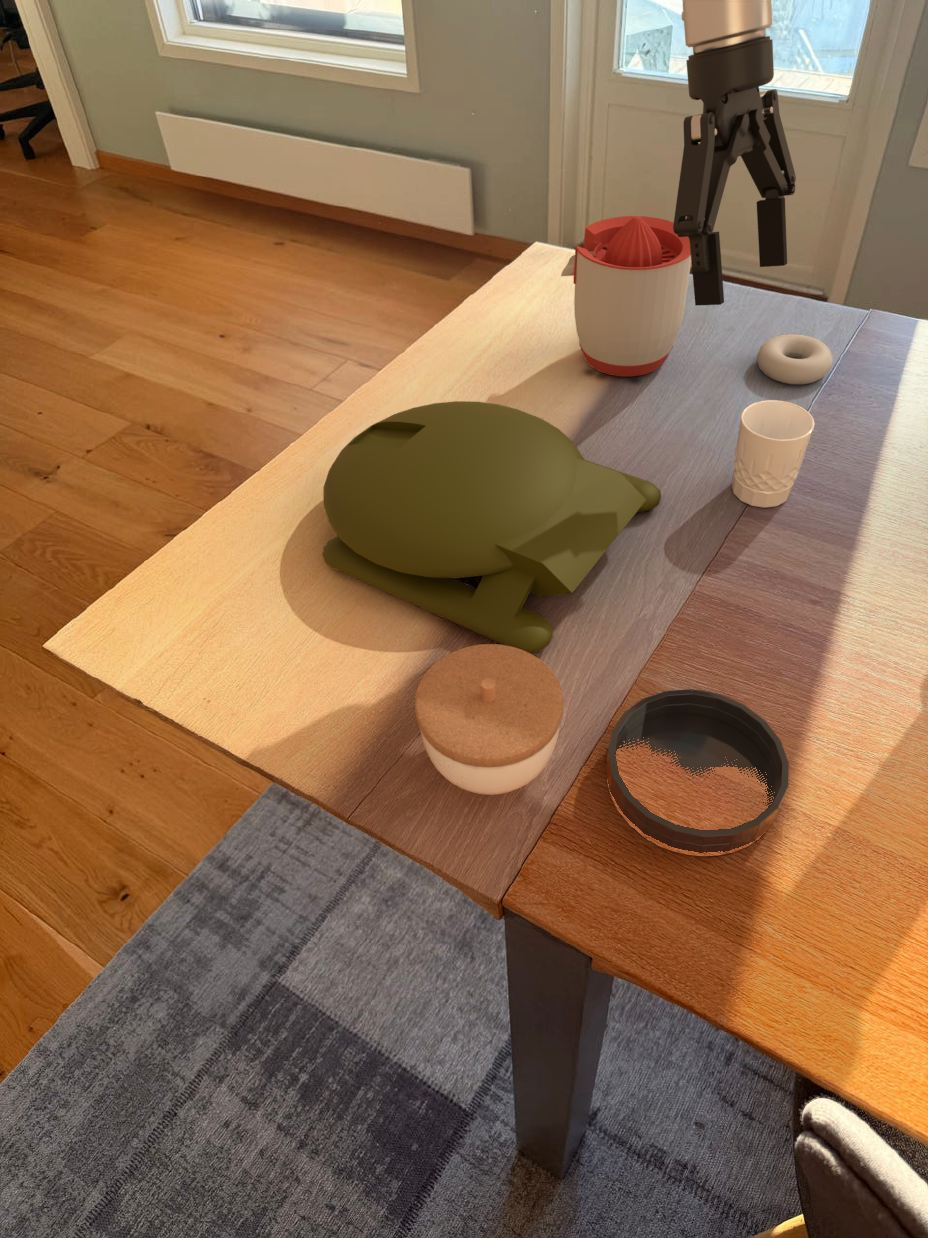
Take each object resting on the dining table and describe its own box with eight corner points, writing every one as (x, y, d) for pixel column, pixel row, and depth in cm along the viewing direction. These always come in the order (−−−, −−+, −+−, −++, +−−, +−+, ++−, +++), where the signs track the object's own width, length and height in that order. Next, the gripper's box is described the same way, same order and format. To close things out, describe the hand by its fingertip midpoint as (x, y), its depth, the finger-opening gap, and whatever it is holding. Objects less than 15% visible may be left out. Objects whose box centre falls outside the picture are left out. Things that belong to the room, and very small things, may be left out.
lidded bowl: (522, 842, 77) (522, 768, 69) (397, 784, 82) (383, 709, 74) (582, 735, 85) (588, 658, 77) (464, 688, 89) (459, 610, 81)
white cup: (761, 520, 105) (779, 449, 97) (712, 486, 109) (726, 415, 102) (809, 494, 107) (829, 423, 100) (759, 462, 112) (776, 392, 105)
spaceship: (667, 499, 108) (678, 429, 101) (536, 667, 91) (538, 598, 84) (427, 415, 122) (422, 350, 115) (275, 547, 105) (258, 480, 98)
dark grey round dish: (783, 729, 84) (791, 705, 82) (777, 875, 74) (786, 853, 72) (619, 700, 87) (622, 676, 85) (593, 836, 77) (595, 814, 75)
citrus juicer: (571, 323, 138) (577, 186, 123) (687, 336, 133) (707, 197, 119) (546, 377, 127) (549, 235, 113) (670, 393, 123) (689, 248, 109)
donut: (744, 378, 125) (817, 396, 121) (748, 356, 123) (823, 373, 119) (768, 345, 131) (838, 361, 127) (772, 323, 128) (844, 338, 124)
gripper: (754, 33, 91) (764, 253, 102) (616, 71, 77) (645, 322, 87) (828, 15, 86) (831, 248, 97) (695, 53, 72) (715, 321, 83)
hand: (742, 284), depth 92 cm, fingers open, 13 cm apart
